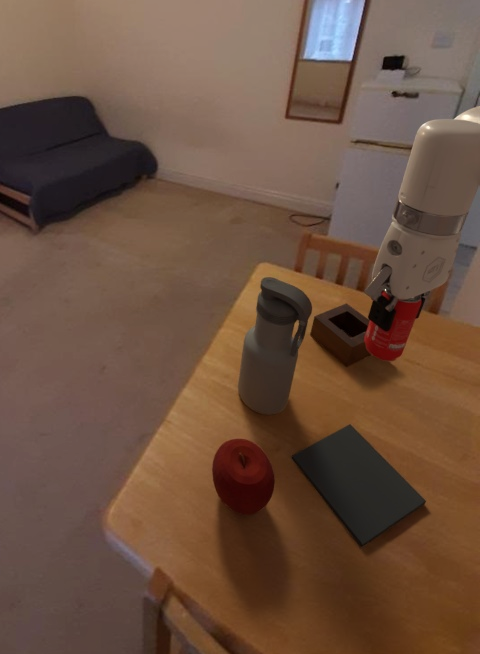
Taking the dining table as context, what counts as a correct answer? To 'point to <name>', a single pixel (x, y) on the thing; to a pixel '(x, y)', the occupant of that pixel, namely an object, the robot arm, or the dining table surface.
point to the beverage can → (393, 330)
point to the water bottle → (273, 346)
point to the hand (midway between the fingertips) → (392, 317)
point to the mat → (357, 484)
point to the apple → (243, 476)
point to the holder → (342, 333)
